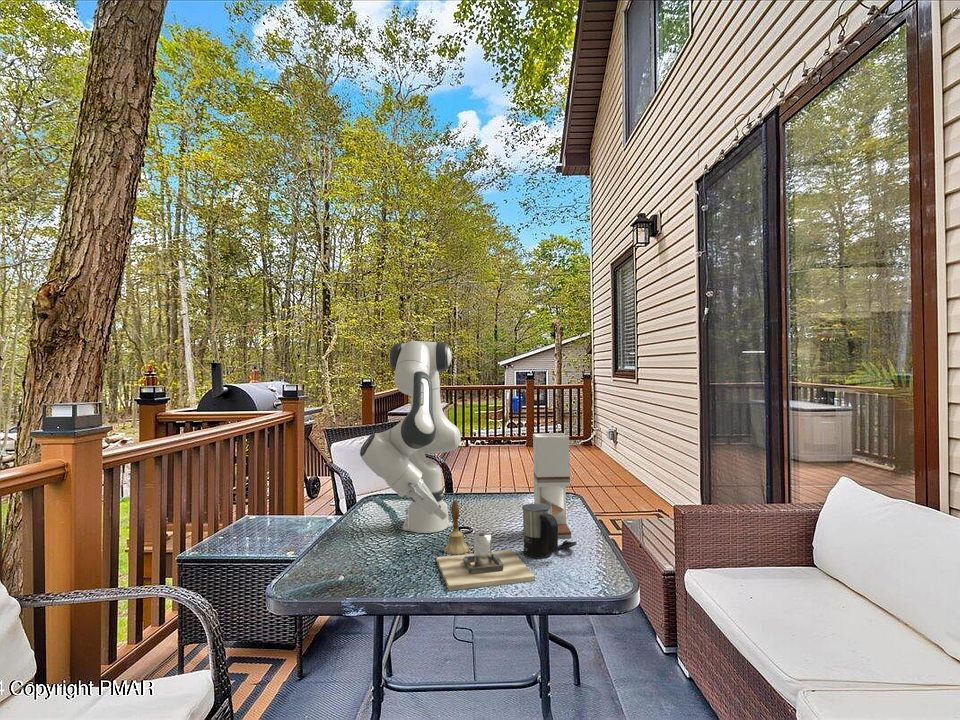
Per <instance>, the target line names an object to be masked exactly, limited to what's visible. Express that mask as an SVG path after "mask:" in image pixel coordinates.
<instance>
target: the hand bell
mask: <svg viewBox="0 0 960 720" xmlns="http://www.w3.org/2000/svg"><path fill="white" fill-rule="evenodd" d="M450 513H451V518H452V524H453V526H452V529H453V530H452V531H451V532H449V535H448V542H447V544H446V546H445V547H444V548H443V553H445V554H447V555H451V556H454V555H464V554H467V553H469V550H470V547H469V546H468V545H467V544H466V542H465V540H464V533H463V532H462V531H460V530H459V516H460V507H459V504H458V501H457V500H452V504H451V508H450Z"/></svg>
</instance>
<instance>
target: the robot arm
mask: <svg viewBox="0 0 960 720" xmlns="http://www.w3.org/2000/svg"><path fill="white" fill-rule="evenodd" d="M452 358H453V357H452V351H451V349H450V346H449V345H448V344H447V343H446V342H442V341H436V342H435V341H425V340H424V341H423V340H422V341H419V340H409V341H407V342H404V343H403V342H399V343H398V342H397V343H395V344H393V345H392V346H391V347H390V351H389V355H388V361H389V364H390V368H391V369H392V370H393V371H394V379H393V380H394V385H395V387H396V388H397V390H398V391H399V392H400V393H401V394H404V395H406V396H410V410H409V412H408V414H407V415H406V416H405V417H404V418H403V419H402V420H401V421H399V422H398V423H397V424H396V425H394V426H393V427H392V428H389V429H387V430H385V431H382V432H377V433H376V432H373V433H372V434H371V435H369V436H368V437H367V438H366V440H364V442H363V444H362V446H361V447H360V450H359V455H360V458H361V459H362V461H363V463H365V465H366V466H367V467H368V468H369V469H370V470H371V471H372V472H373V473H374V474H375V475H376V476H377V477H379V478H382V479H383V480H384V481H385V483H386V484H387V486H388V487H390V488H391V490H393V492H395V493H396V494H397V495H398V496H399V497H400V498H402V497H404V496H406V497H407V498H411V502H410V504H409V506H407V508H406V507H405V515H407V516H406V517H405V520H404V523H403V525H402V529H401V530H403V531H406V532H408V531H409V532H413V533H418V534H430V533H431V534H432V533H438V532H441V531H445V530H446V529H447V528H450V527H453V521H450V520H449V513H448V504H447V503H446V501H444V489H443V478H442V476H443V473H442V471H443V470H442V468H441V467H440V465H439V464H437V463H436V462H433V461H431V460H429V459H428V458H427V457H426V454H431V453H435V454H437V453H448V452H453V451H455V450H457V449H458V447H459V445H460V444H461V440H462V436H461V432H460V429H459V428H458V426H456V425H455V424H454V423H453V422H452V421H450V420H449V419H448V417H447V416H446V414H445V413H444V411H443V407H442V399H441V382H440V381H441V379H440V374H442V373H443V372H445V371H446V370H448V369H449V368H450V365H451V362H452Z"/></svg>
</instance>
